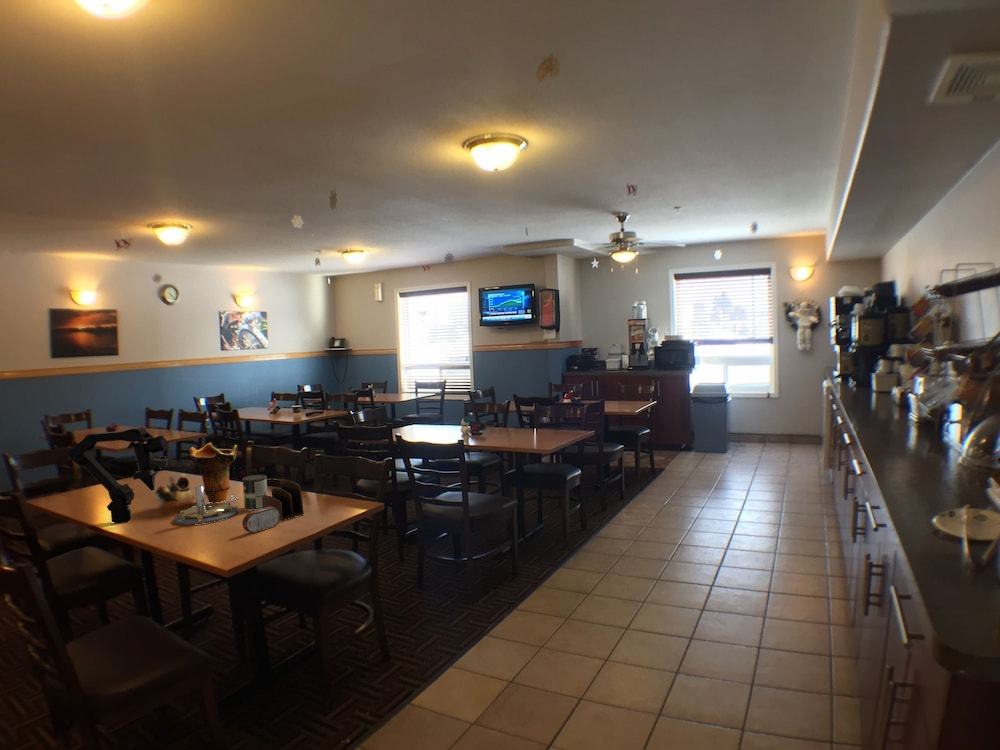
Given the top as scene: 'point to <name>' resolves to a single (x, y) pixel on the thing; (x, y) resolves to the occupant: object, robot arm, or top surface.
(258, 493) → the coffee can
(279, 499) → the letter holder
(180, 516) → the base plate
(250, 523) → the tin
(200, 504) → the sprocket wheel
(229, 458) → the decorative vase
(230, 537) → the top surface
